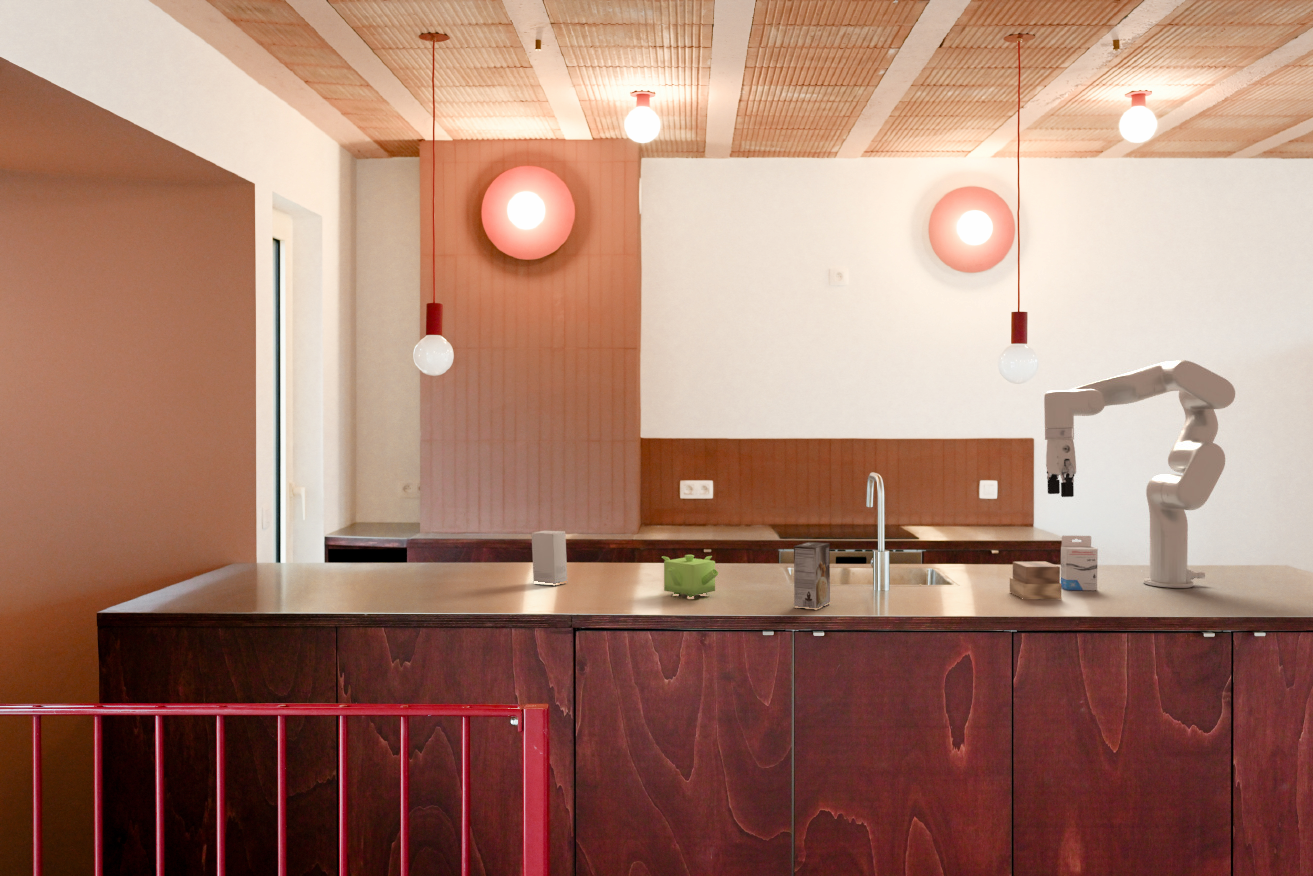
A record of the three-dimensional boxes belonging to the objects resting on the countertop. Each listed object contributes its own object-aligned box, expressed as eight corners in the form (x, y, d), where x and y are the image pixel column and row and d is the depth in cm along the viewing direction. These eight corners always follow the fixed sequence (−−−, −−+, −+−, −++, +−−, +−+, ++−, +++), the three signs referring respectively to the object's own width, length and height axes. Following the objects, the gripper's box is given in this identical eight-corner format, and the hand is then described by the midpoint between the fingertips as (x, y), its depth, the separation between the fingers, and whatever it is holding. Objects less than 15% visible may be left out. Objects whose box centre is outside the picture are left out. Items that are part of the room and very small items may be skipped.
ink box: (1065, 590, 262) (1066, 537, 261) (1060, 587, 267) (1060, 535, 266) (1098, 590, 261) (1098, 537, 261) (1091, 587, 266) (1091, 535, 266)
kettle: (661, 591, 265) (661, 551, 265) (711, 590, 266) (711, 550, 266) (665, 601, 250) (665, 559, 250) (718, 600, 251) (718, 558, 251)
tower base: (1046, 593, 259) (1046, 577, 259) (1061, 600, 249) (1061, 583, 249) (1009, 594, 259) (1009, 577, 259) (1023, 601, 249) (1023, 584, 249)
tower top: (1045, 577, 258) (1045, 561, 258) (1059, 583, 249) (1059, 566, 249) (1012, 578, 258) (1012, 561, 258) (1025, 583, 249) (1026, 566, 249)
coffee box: (807, 602, 248) (807, 541, 247) (830, 604, 244) (830, 543, 244) (793, 608, 240) (793, 545, 239) (817, 611, 236) (816, 547, 236)
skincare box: (567, 583, 278) (567, 531, 277) (553, 587, 272) (553, 533, 272) (545, 581, 282) (545, 529, 282) (531, 584, 277) (530, 531, 276)
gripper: (1085, 434, 256) (1086, 497, 256) (1060, 433, 273) (1061, 492, 273) (1057, 435, 256) (1058, 498, 256) (1034, 434, 273) (1035, 493, 274)
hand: (1060, 495), depth 265 cm, fingers open, 9 cm apart
